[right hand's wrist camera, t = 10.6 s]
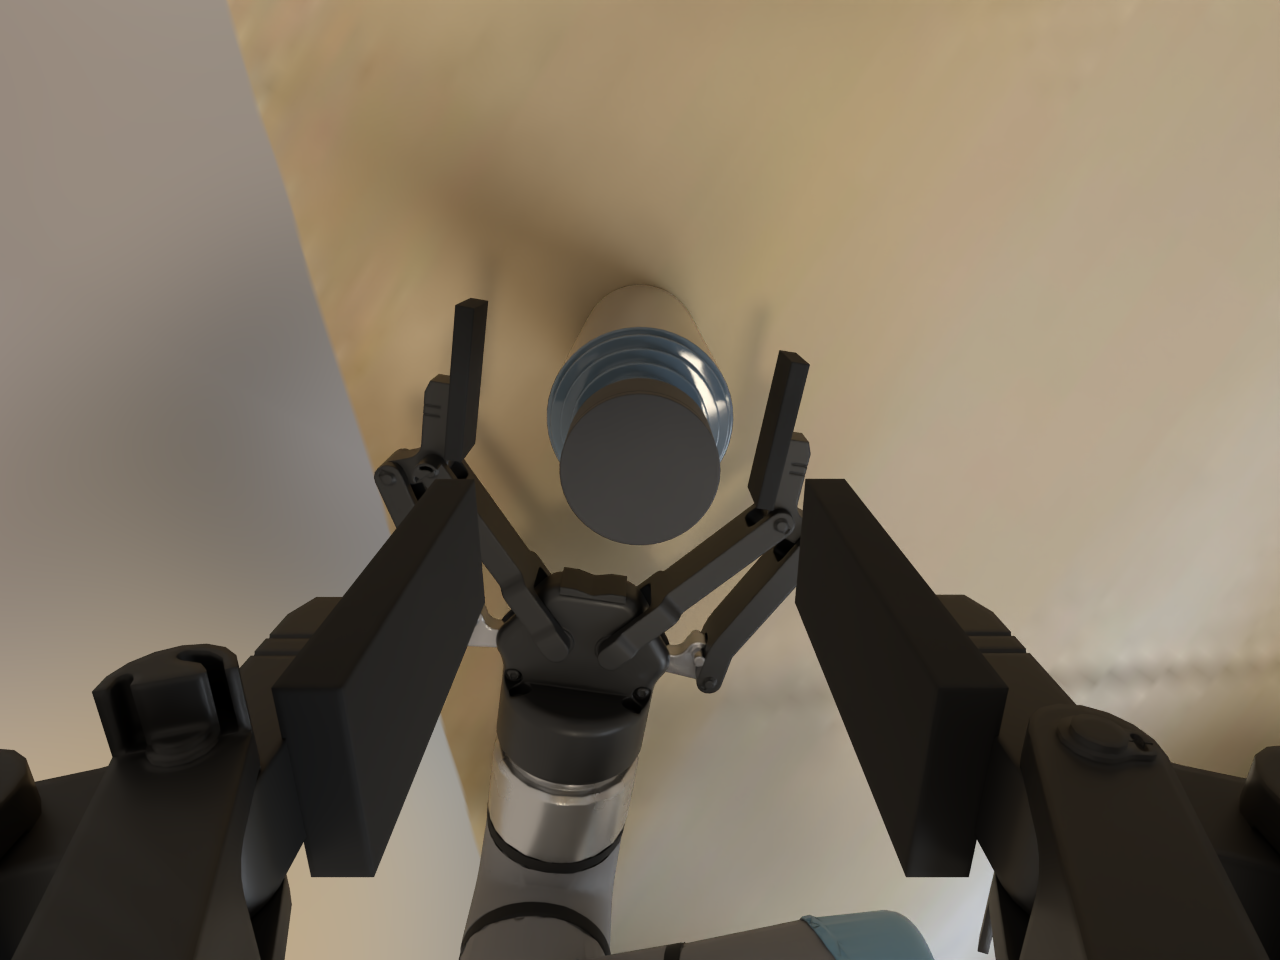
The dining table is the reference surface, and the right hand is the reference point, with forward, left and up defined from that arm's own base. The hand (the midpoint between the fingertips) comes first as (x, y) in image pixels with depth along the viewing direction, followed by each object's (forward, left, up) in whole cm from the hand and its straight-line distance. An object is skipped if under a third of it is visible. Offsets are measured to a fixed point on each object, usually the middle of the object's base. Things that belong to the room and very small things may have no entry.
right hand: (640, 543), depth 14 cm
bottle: (0, 0, -24) cm, 24 cm away
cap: (0, 0, -5) cm, 5 cm away
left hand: (-2, -1, -17) cm, 17 cm away
